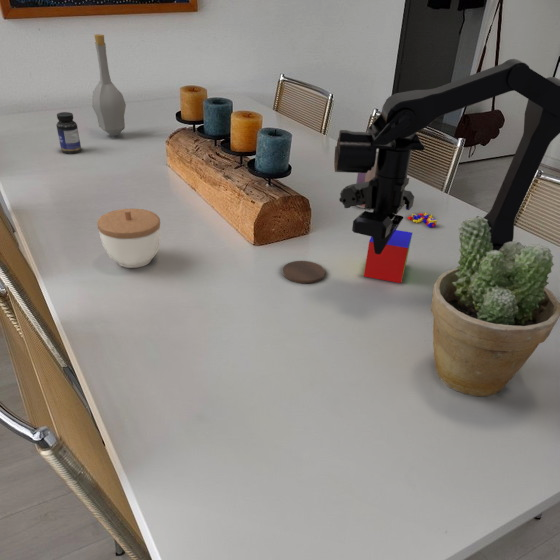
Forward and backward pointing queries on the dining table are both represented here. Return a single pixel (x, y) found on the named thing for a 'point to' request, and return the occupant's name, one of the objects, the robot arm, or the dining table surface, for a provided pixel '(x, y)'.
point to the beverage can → (367, 176)
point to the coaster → (303, 272)
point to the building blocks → (424, 219)
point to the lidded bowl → (130, 236)
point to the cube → (389, 258)
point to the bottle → (107, 95)
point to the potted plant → (490, 311)
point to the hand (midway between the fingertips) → (377, 253)
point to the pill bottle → (68, 133)
